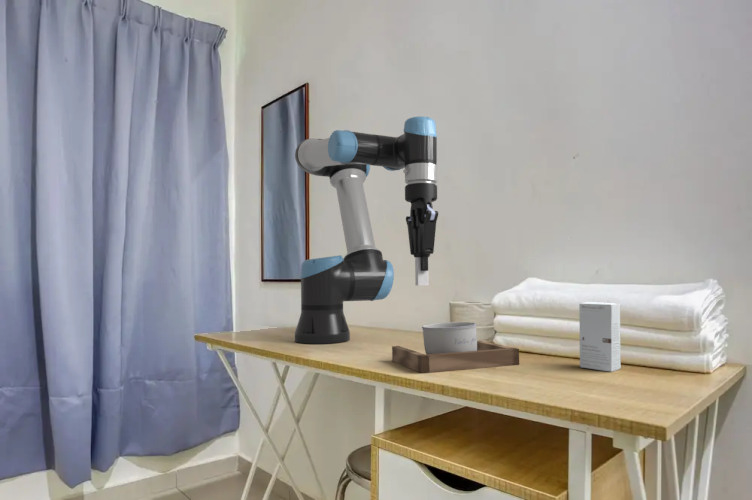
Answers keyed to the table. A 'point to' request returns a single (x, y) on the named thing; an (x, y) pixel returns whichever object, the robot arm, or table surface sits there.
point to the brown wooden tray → (457, 358)
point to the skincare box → (600, 336)
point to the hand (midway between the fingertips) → (422, 285)
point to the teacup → (450, 337)
